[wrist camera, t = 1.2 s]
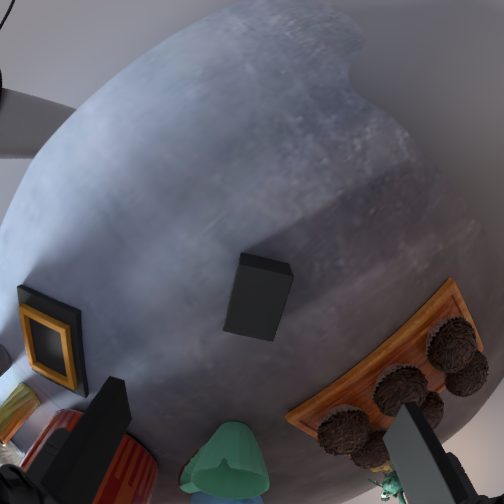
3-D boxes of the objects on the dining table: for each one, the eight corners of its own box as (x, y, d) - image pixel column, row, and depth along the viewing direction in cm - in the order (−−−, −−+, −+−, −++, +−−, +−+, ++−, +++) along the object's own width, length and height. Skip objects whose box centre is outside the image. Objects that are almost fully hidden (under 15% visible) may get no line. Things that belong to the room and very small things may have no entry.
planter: (67, 449, 40) (34, 506, 21) (46, 385, 35) (-11, 455, 15) (159, 487, 41) (140, 556, 22) (163, 437, 36) (130, 538, 16)
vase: (44, 409, 37) (12, 452, 23) (26, 401, 37) (-6, 440, 23) (32, 386, 35) (-6, 429, 22) (15, 379, 36) (-22, 418, 22)
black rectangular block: (241, 252, 28) (238, 263, 24) (289, 263, 28) (294, 276, 25) (226, 313, 30) (222, 331, 26) (271, 322, 30) (273, 342, 26)
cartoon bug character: (379, 476, 40) (392, 526, 25) (342, 444, 38) (354, 508, 24) (419, 453, 38) (439, 502, 23) (390, 417, 37) (415, 479, 22)
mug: (238, 400, 33) (233, 459, 23) (281, 434, 35) (285, 487, 25) (167, 433, 36) (152, 481, 26) (210, 461, 37) (203, 507, 28)
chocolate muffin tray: (448, 276, 29) (489, 302, 20) (479, 344, 31) (508, 370, 23) (284, 413, 34) (289, 460, 25) (347, 450, 36) (357, 487, 28)
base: (21, 283, 30) (11, 289, 28) (80, 310, 31) (71, 317, 28) (35, 366, 34) (28, 373, 32) (89, 394, 34) (82, 403, 32)
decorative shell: (-15, 410, 42) (-30, 427, 32) (25, 446, 44) (11, 466, 34) (-5, 434, 46) (-17, 449, 36) (31, 464, 48) (20, 481, 38)
